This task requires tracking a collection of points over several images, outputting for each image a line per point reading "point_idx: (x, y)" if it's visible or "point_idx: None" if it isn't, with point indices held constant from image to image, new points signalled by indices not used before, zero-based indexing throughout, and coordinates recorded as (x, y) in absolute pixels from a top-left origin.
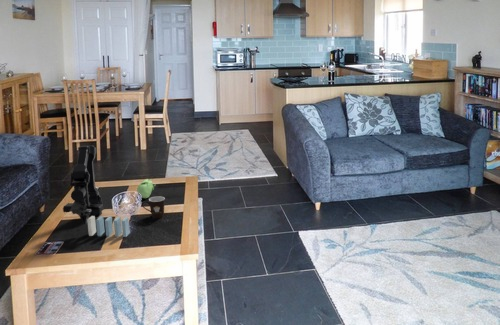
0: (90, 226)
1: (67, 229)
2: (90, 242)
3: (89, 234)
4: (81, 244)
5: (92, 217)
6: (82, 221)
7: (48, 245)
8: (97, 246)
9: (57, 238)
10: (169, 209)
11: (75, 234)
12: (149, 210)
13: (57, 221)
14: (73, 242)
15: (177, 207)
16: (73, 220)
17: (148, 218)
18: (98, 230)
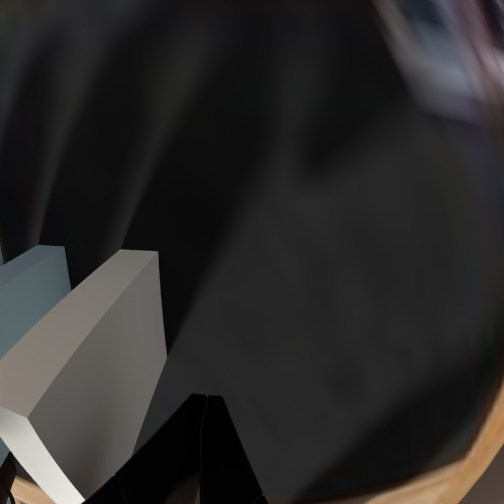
0: (60, 311)
1: (442, 376)
2: (69, 71)
3: (144, 257)
4: (150, 3)
5: (43, 483)
6: (236, 439)
7: (490, 22)
8: (4, 25)
9: (492, 174)
10: (14, 487)
11: (349, 283)
12: (3, 486)
13: (485, 441)
14: (277, 38)
15: None
16: (406, 476)
17: None
18: (10, 271)
